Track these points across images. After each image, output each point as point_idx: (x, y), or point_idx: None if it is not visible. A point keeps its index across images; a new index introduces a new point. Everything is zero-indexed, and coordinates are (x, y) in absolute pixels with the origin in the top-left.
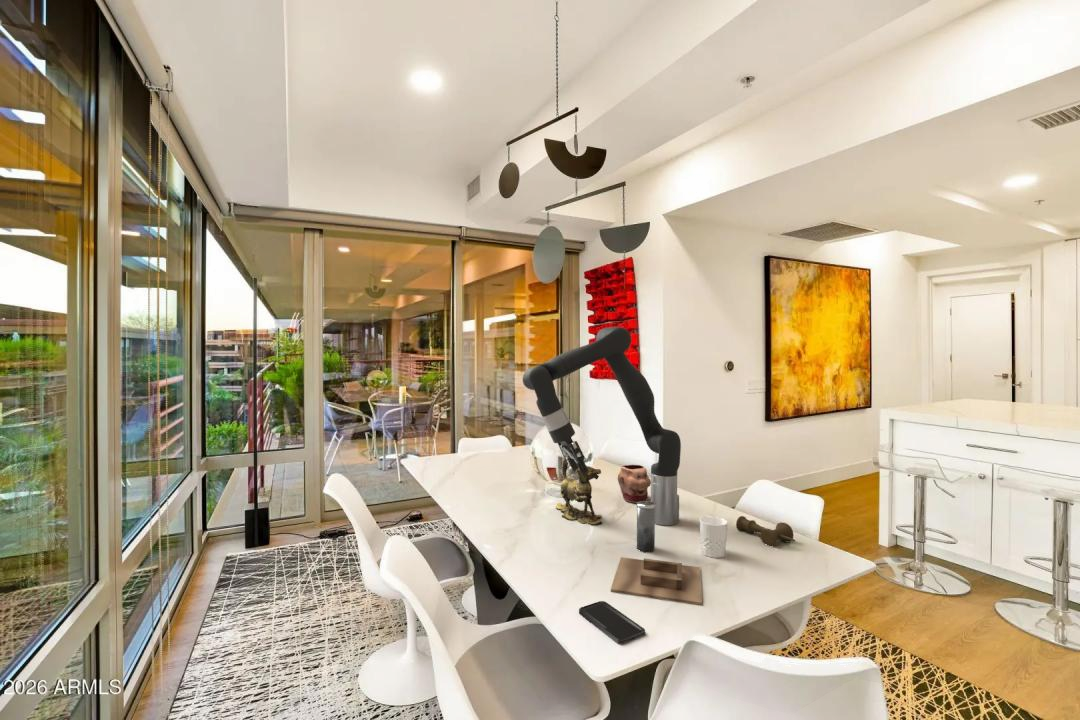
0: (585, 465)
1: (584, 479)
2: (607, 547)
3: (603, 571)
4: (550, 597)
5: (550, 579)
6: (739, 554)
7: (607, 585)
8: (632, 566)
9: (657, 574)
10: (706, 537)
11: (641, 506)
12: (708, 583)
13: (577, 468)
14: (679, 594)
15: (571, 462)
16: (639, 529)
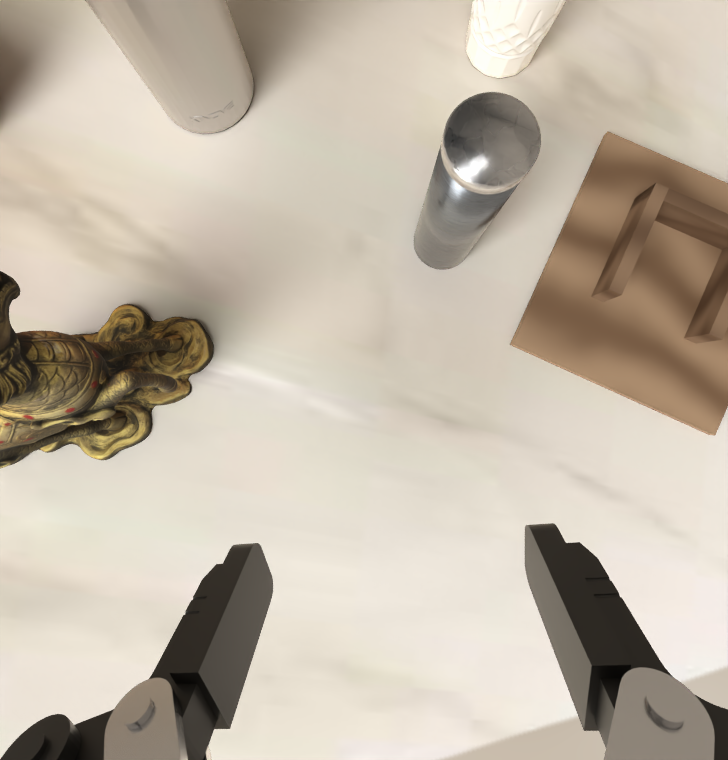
0: (586, 582)
1: (13, 374)
2: (415, 361)
3: (586, 421)
4: (725, 607)
5: (621, 589)
6: None
7: (673, 433)
8: (581, 328)
9: (640, 273)
10: (551, 15)
11: (523, 176)
12: (688, 151)
13: (259, 556)
14: None
15: (235, 673)
16: (474, 237)
